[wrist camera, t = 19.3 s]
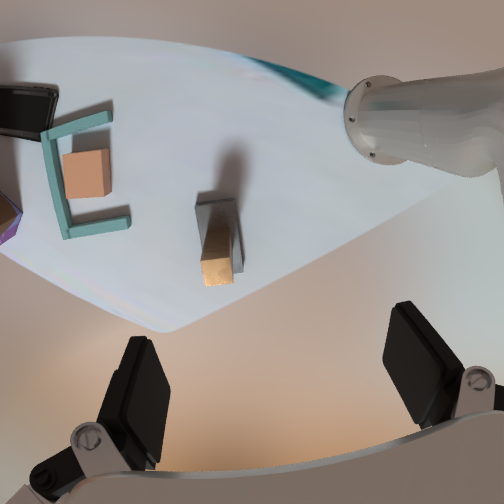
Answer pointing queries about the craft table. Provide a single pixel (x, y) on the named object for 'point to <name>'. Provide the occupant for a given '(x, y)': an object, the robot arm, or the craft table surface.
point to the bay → (57, 184)
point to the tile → (87, 174)
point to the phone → (26, 111)
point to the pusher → (219, 241)
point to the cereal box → (8, 218)
